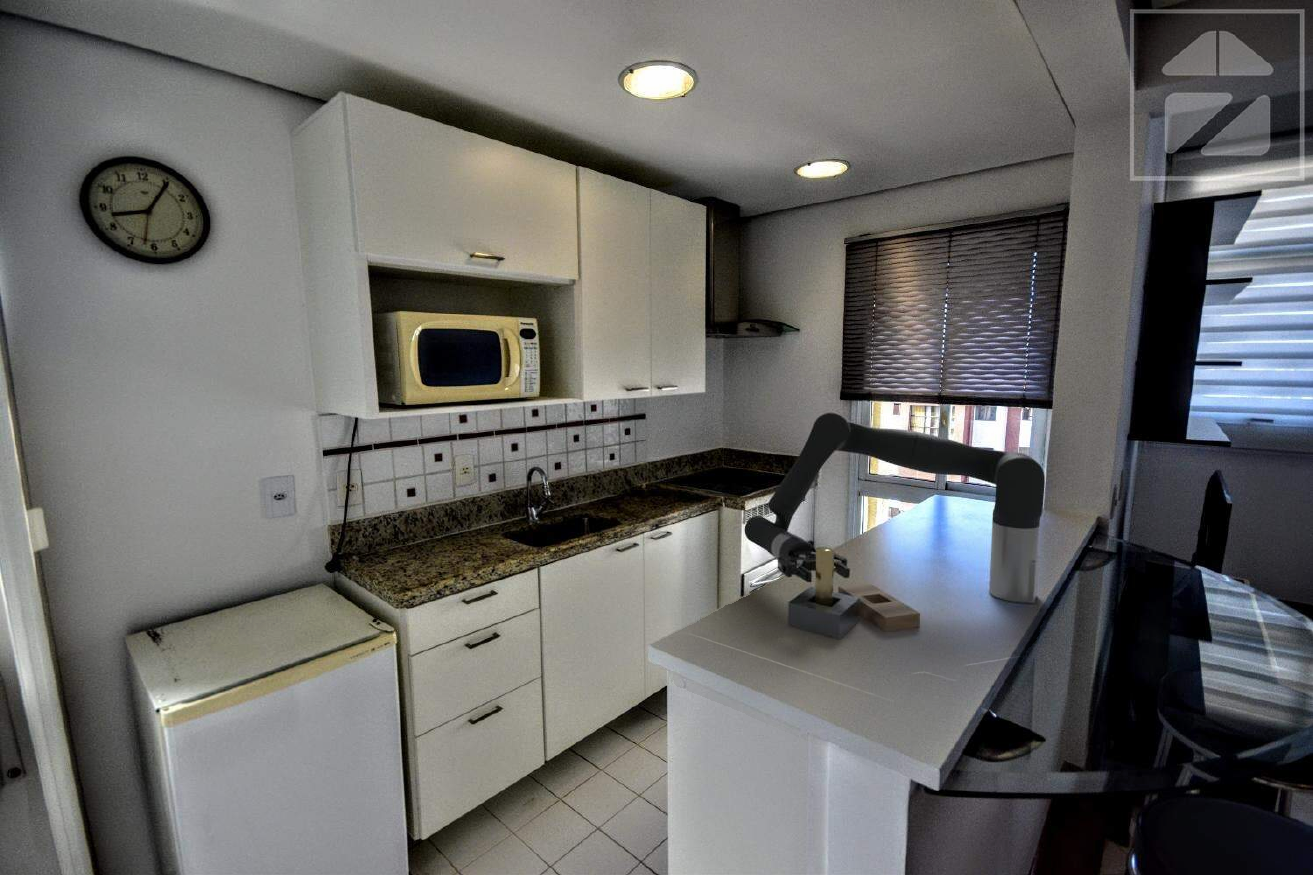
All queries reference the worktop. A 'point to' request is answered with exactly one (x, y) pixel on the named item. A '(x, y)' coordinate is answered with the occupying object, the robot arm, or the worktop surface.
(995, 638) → the worktop surface
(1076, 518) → the worktop surface
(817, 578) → the axle
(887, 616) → the beam
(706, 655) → the worktop surface
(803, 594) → the seat block
